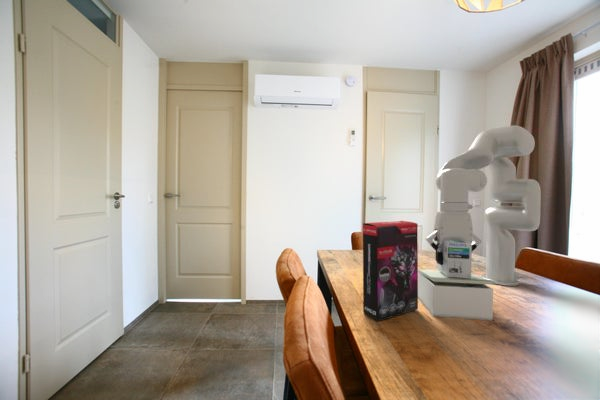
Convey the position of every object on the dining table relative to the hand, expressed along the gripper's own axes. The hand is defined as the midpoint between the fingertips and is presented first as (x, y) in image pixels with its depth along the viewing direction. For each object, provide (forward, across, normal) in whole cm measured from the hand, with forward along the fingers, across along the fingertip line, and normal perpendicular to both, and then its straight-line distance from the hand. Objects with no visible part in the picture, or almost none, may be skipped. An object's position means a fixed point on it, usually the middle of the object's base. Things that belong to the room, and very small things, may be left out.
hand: (452, 264), depth 80 cm
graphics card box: (+14, +20, +6) cm, 25 cm away
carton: (+14, 0, 0) cm, 14 cm away
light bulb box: (+3, 0, 0) cm, 3 cm away
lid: (+4, 0, 0) cm, 4 cm away
